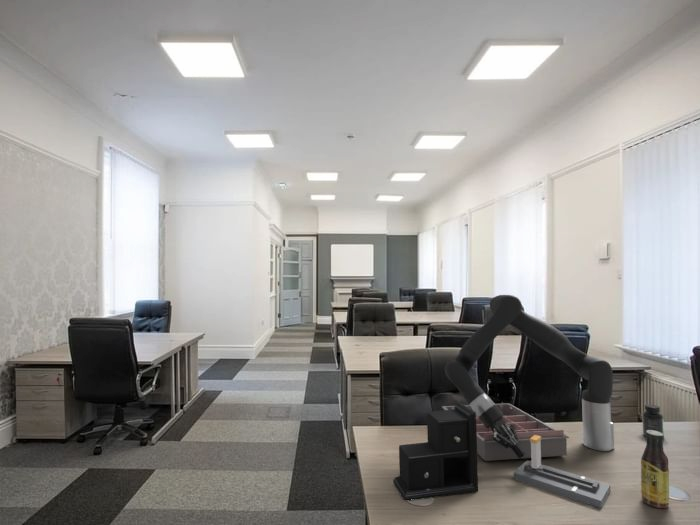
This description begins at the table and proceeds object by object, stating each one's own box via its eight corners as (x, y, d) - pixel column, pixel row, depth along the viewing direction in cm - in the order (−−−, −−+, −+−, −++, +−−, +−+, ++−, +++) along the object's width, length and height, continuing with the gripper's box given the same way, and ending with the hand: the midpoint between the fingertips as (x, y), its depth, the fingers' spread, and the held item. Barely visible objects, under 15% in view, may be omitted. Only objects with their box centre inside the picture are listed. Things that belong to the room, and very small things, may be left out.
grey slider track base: (513, 478, 126) (513, 467, 126) (527, 466, 135) (527, 455, 135) (601, 508, 110) (600, 495, 110) (610, 491, 118) (610, 479, 118)
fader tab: (528, 470, 127) (527, 437, 127) (533, 465, 130) (532, 434, 130) (540, 474, 124) (539, 441, 125) (544, 469, 127) (543, 437, 128)
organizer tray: (509, 421, 179) (509, 398, 180) (570, 460, 140) (569, 431, 140) (441, 424, 175) (441, 401, 175) (484, 466, 135) (483, 436, 136)
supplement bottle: (668, 438, 158) (667, 408, 159) (654, 440, 156) (653, 409, 157) (652, 432, 165) (650, 403, 165) (638, 434, 163) (637, 404, 164)
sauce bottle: (636, 498, 115) (633, 427, 116) (656, 497, 115) (653, 427, 116) (655, 511, 108) (652, 436, 109) (676, 509, 109) (673, 435, 110)
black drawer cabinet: (404, 501, 113) (403, 417, 114) (392, 483, 124) (392, 406, 125) (479, 493, 118) (477, 412, 119) (462, 475, 128) (460, 401, 129)
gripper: (484, 408, 133) (523, 457, 124) (501, 399, 142) (538, 444, 133) (470, 420, 136) (506, 469, 127) (487, 411, 146) (522, 455, 137)
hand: (522, 456), depth 130 cm, fingers closed
